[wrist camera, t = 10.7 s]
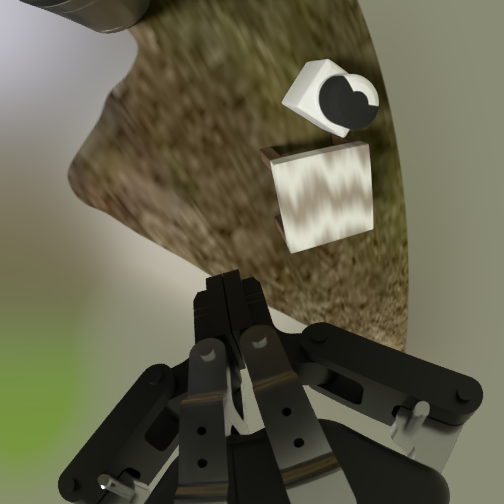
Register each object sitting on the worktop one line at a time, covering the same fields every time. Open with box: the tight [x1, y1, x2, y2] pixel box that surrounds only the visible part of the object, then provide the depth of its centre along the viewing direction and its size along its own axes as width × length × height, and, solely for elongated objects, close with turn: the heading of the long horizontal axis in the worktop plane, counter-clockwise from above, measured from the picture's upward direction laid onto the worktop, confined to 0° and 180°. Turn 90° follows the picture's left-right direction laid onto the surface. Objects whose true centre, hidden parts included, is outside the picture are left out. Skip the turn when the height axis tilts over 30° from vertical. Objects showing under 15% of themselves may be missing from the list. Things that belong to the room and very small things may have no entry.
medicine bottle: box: [282, 59, 379, 138], centre depth 31 cm, size 7×7×12 cm
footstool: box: [260, 134, 373, 253], centre depth 39 cm, size 12×8×12 cm
